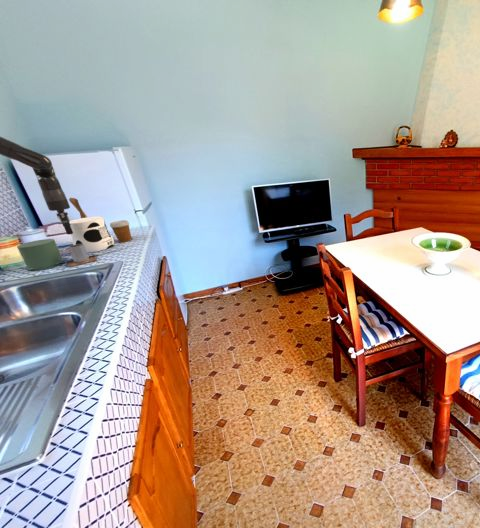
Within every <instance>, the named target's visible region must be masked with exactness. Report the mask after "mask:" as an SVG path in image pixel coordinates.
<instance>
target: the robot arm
mask: <svg viewBox="0 0 480 528" xmlns="http://www.w3.org/2000/svg"><path fill="white" fill-rule="evenodd" d="M0 156H2V157H5V158H7V159H11V160H13V161H17V162H19V163H21V164H23V165H26V166H28V167H30V168H31V169H32V170H33V173H34V174H35V177H36V179H37V183H38V186H39V188H40V191H41V193H42V197H43V199H44V202H45V205H46V206H47V209H48V210H49V212H55V211H56V213H55V215H56V217H57V219H58V220H59V222H60V224H62V227H63V228H64V231H65V232H66V235H71V234H73V231H72V229H71V226H70V223H69V222H70V221H71V220H70V218H69V214H68V212H65V210H68V209H70V208H71V206H70V203H69V200H68V198H67V196H66V193H65V191H64V190H63V188H62V185H61V182H60V180H59V179H58V177H57V175H56V172H55V168H54V167H53V162H52V160H51V159H50V158H49V157H48V156H46V155H44V154H42V153H40V152H37V151H35V150H32V149H29V148H26V147H24V146H22V145H20V144H19V143H16V142H14V141H12V140H10V139H7V138H5V137H3V136H0Z"/></svg>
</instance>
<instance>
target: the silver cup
mask: <svg viewBox="0 0 480 528" xmlns="http://www.w3.org/2000/svg"><path fill="white" fill-rule="evenodd" d="M67 249H68V251H69V253H70V254H69V255H70V256H71V259H72V260H73V261H74V263H80V262H84V261H87V260H89V256H90V255H89V253H87V252H86V249H85V247H84V244H76V245H73V244H70V245H69V246H67Z"/></svg>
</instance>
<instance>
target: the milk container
mask: <svg viewBox="0 0 480 528" xmlns="http://www.w3.org/2000/svg"><path fill="white" fill-rule="evenodd" d="M69 223H70V226H71V229H72V231H73V234H70V235H71V238H72V245H76V244H84V247H85V249H86V252H87V254H93V253H98V252H102V251H105V250H109V249H111V248H113V247H114V246H115V240H114V238H113V236H112V235H111V234H110V232H109V230H108V227H107V225H106V222H105V219H104V218H103V216H87V218H81V217H80V218H76V219H72V220H70V222H69Z"/></svg>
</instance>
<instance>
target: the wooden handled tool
mask: <svg viewBox="0 0 480 528" xmlns="http://www.w3.org/2000/svg"><path fill="white" fill-rule="evenodd" d="M68 202H70V204H72V206H73V207H74V208H75V209H76V210H77V212H79V216H80V219H81V218H87V217H88V216H87V215H86V213H85V212H84V210H83V209H82V207H81V205H80V203H79V200H78V199H77V198H75V197H69V198H68Z"/></svg>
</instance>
